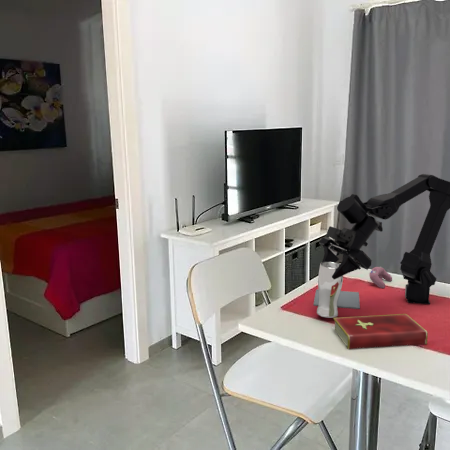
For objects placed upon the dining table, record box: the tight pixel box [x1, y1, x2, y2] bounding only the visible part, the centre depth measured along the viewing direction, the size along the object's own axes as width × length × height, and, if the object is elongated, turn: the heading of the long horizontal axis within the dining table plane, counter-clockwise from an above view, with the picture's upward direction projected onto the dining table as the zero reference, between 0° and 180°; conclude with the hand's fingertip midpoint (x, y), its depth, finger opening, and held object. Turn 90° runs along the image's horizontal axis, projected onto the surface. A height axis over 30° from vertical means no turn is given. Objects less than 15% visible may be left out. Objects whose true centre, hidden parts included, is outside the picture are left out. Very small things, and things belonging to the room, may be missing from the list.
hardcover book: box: [332, 313, 429, 350], centre depth 130 cm, size 12×21×4 cm, turn 96°
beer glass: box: [316, 261, 344, 319], centre depth 141 cm, size 7×7×15 cm
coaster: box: [313, 288, 361, 310], centre depth 157 cm, size 14×14×1 cm
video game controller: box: [368, 266, 393, 289], centre depth 171 cm, size 10×5×7 cm, turn 146°
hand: (326, 275), depth 139 cm, fingers closed on beer glass, 6 cm apart
